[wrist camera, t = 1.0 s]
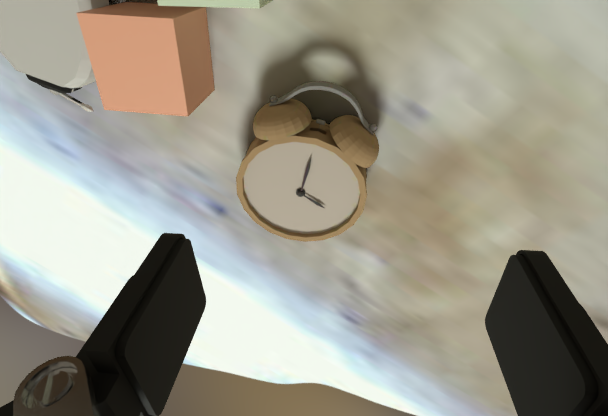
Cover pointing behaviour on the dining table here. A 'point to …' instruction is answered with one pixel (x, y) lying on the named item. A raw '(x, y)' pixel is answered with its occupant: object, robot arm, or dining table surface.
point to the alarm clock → (306, 168)
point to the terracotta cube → (149, 56)
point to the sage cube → (215, 3)
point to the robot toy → (48, 43)
